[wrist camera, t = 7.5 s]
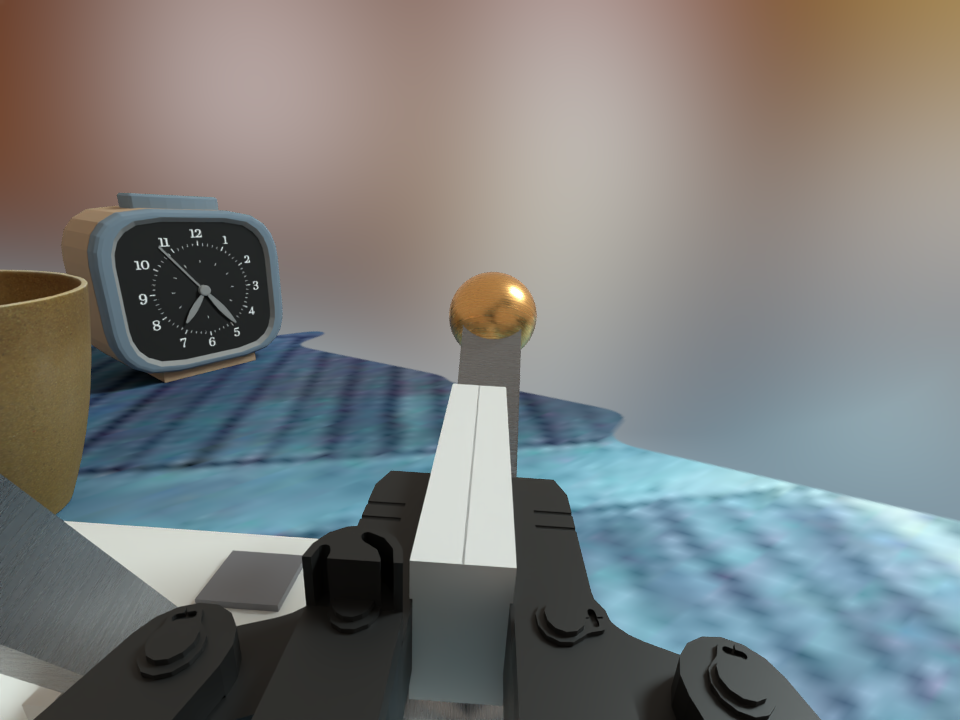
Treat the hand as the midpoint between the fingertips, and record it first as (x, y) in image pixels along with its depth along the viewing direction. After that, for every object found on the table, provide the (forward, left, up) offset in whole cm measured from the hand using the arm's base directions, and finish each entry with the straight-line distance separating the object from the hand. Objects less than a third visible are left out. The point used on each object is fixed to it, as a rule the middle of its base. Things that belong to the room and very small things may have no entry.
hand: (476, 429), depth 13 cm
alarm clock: (+39, -44, -16) cm, 61 cm away
